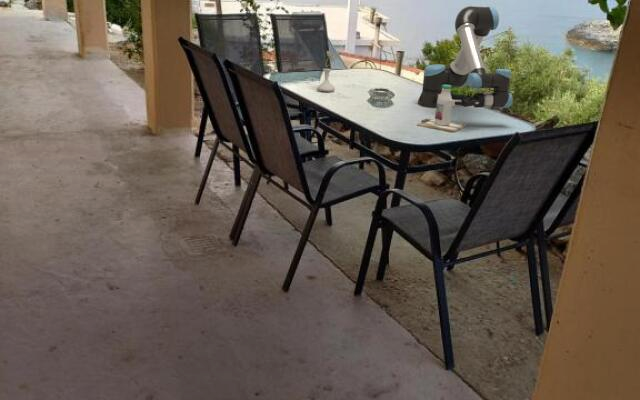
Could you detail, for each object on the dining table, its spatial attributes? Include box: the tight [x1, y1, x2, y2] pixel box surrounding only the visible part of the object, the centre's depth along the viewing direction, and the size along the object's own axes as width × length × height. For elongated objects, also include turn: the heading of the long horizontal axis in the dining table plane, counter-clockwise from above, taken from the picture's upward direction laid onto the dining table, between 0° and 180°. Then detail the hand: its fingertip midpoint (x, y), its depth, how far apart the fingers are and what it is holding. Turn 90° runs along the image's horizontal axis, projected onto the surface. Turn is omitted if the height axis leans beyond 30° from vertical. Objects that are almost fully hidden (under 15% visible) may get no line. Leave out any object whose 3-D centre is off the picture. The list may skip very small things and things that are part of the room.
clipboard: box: [416, 118, 466, 134], centre depth 303 cm, size 16×20×2 cm
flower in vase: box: [317, 50, 336, 93], centre depth 372 cm, size 13×11×25 cm
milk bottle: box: [434, 85, 453, 126], centre depth 300 cm, size 8×8×20 cm
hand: (442, 99), depth 298 cm, fingers open, 13 cm apart
